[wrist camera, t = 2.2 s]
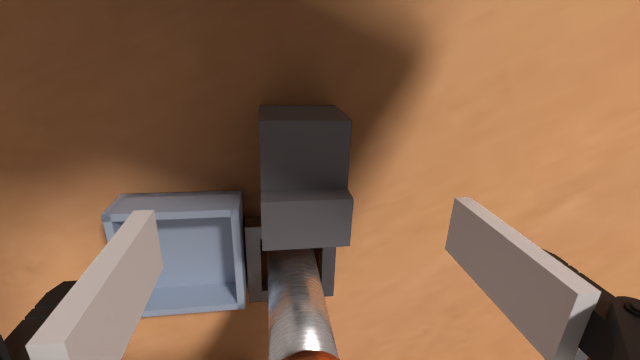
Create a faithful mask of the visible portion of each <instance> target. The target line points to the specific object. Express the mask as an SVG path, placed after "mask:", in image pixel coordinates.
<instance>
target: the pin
mask: <svg viewBox="0 0 640 360" xmlns="http://www.w3.org/2000/svg"><path fill="white" fill-rule="evenodd" d="M268 336H269V360H340V359H339V358H338V353H337V349H336V345H335V341H334V336H333V332H332V328H331V323H330V319H329V315H328V311H327V306H326V302H325V298H324V293H323V289H322V285H321V281H320V276H319V272H318V268H317V263H316V259H315V255H314V250H313V248H307V249H289V250H272V251H268Z"/></svg>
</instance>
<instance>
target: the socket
mask: <svg viewBox="0 0 640 360" xmlns="http://www.w3.org/2000/svg"><path fill="white" fill-rule="evenodd" d="M261 239H262V225H261V217H248V218H246V221H245V240H246V257H247V274H248V291H249V303H251V302H263V301H268V278H264V279H262V264H261ZM335 256H336V247H324V248H319V276H320V281H321V285H322V289H323V293H324V297H325V296H333V291H334V273H335Z"/></svg>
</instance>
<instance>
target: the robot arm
mask: <svg viewBox="0 0 640 360" xmlns="http://www.w3.org/2000/svg"><path fill="white" fill-rule="evenodd" d="M445 249H446V250H447V251H448V253H449V254H450V255H451V256H452V257H453V258H454V259H455V260H456V261H457V262H458V264H459V265H460V266H461V267H462V268H463V269H464V270H465V271H466V272H467V273H468V275H469V276H470V277H471V278H472V279H473V280H474V281H475V282H476V283H477V285H478V286H479V287H480V288H481V289H482V290H483V291H484V292H485V293H486V294H487V296H488V297H489V298H490V299H491V300H492V301H493V302H494V303H495V304H496V305H497V307H498V308H499V309H500V310H501V311H502V312H503V313H504V314H505V315H506V317H507V318H508V319H509V320H510V321H511V322H512V323H513V324H514V325H515V326H516V328H517V329H518V330H519V331H520V332H521V333H522V334H523V335H524V336H525V337H526V339H527V340H528V341H529V342H530V343H531V344H532V345H533V346H534V347H535V349H536V350H537V351H538V352H539V353H540V354H541V355H542V356H543V357H544V358H545V360H574V358H575V355H576V353H577V350H578V348H580V349H581V350H582V351H583V352H584V353H585V354H586V355H587V356H588V358H587V360H640V300H638V299H635V298H631V297H626V296H618V297H614V296H613V295H612V294H610V293H609V292H607V291H606V290H605V289H603V288H602V287H600V286H599V285H597V284H596V283H595V282H593V281H592V280H590V279H589V278H588V277H586V276H585V275H583V274H582V273H579V272H578V270H576V269H575V268H573V267H572V266H569V265H568V263H566V262H565V261H564V260H562V259H561V258H559V257H558V256H556V255H555V254H552V253H550V252H548V251H546V250H544V249H542V248H540V247H538V246H537V245H536V244H534V243H533V242H531V241H530V240H529V239H527V238H526V237H525V236H523V235H522V234H520V233H519V232H518V231H516V230H515V229H513V228H512V227H511V226H509V225H508V224H506V223H505V222H504V221H502V220H501V219H500V218H498V217H497V216H495V215H494V214H493V213H491V212H490V211H488V210H487V209H486V208H484V207H483V206H481V205H480V204H479V203H477V202H476V201H475V200H473V199H472V198H470V197H461V198H455V199H454V204H453V210H452V215H451V220H450V225H449V230H448V236H447V241H446V246H445ZM163 267H164V266H163V260H162V254H161V248H160V242H159V236H158V230H157V224H156V218H155V212H154V210H134V211H133V212H132V213H131V215H130V216H129V217H128V218H127V220H126V221H125V222H124V223H123V225H122V226H121V227H120V228H119V230H118V231H117V232H116V233H115V235H114V236H113V237H112V238H111V240H110V241H109V242H108V243H107V245H106V246H105V247H104V248H103V249H102V251H101V252H100V253H99V254H98V256H97V257H96V258H95V259H94V261H93V262H92V263H91V264H90V266H89V267H88V268H87V269H86V271H85V272H84V273H83V274H82V276H81V277H80V278H79V279H78V281H64V282H62V283H61V284H59V285H58V286H56V287H55V288H53V289H52V290H50V291H49V292H47V293H46V294H45V295H44V296H43V298H42V299H41V300H40V301H39V302H38V303H37V304H36V305H35V308H34V309H32V310H31V311H30V312H29V313H28V315H27V316H26V317H25V320H22V321H21V322H20V324H19V325H18V326H17V327H16V328H15V329H14V330H13V331H12V333H11V334H10V335H9V336H8V337H7V338H6V339H5V340H4V341H3V338H2V336H1V335H0V360H121V359H122V357H123V355H124V352H125V350H126V348H127V346H128V344H129V341H130V339H131V337H132V335H133V333H134V330H135V328H136V326H137V324H138V322H139V320H140V317H141V315H142V313H143V311H144V309H145V306H146V304H147V302H148V300H149V298H150V296H151V293H152V291H153V289H154V287H155V285H156V282H157V280H158V278H159V276H160V274H161V272H162V269H163Z"/></svg>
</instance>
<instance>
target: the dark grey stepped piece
mask: <svg viewBox="0 0 640 360" xmlns="http://www.w3.org/2000/svg"><path fill="white" fill-rule="evenodd" d="M258 124H259V151H260V178H261V225H262V251H272V250H289V249H307V248H324V247H341V246H350V237H351V224H352V211H353V198H352V196H351V194H350V192H349V190H348V189H347V185H348V170H349V156H350V141H351V126H352V120H350V119H349V118H348V117H347V116H346V115H345V114H344V113H343V112H341V111H340V110H339V109H338V108H337V107H336V106H335V105H260V109H259V120H258Z"/></svg>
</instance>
